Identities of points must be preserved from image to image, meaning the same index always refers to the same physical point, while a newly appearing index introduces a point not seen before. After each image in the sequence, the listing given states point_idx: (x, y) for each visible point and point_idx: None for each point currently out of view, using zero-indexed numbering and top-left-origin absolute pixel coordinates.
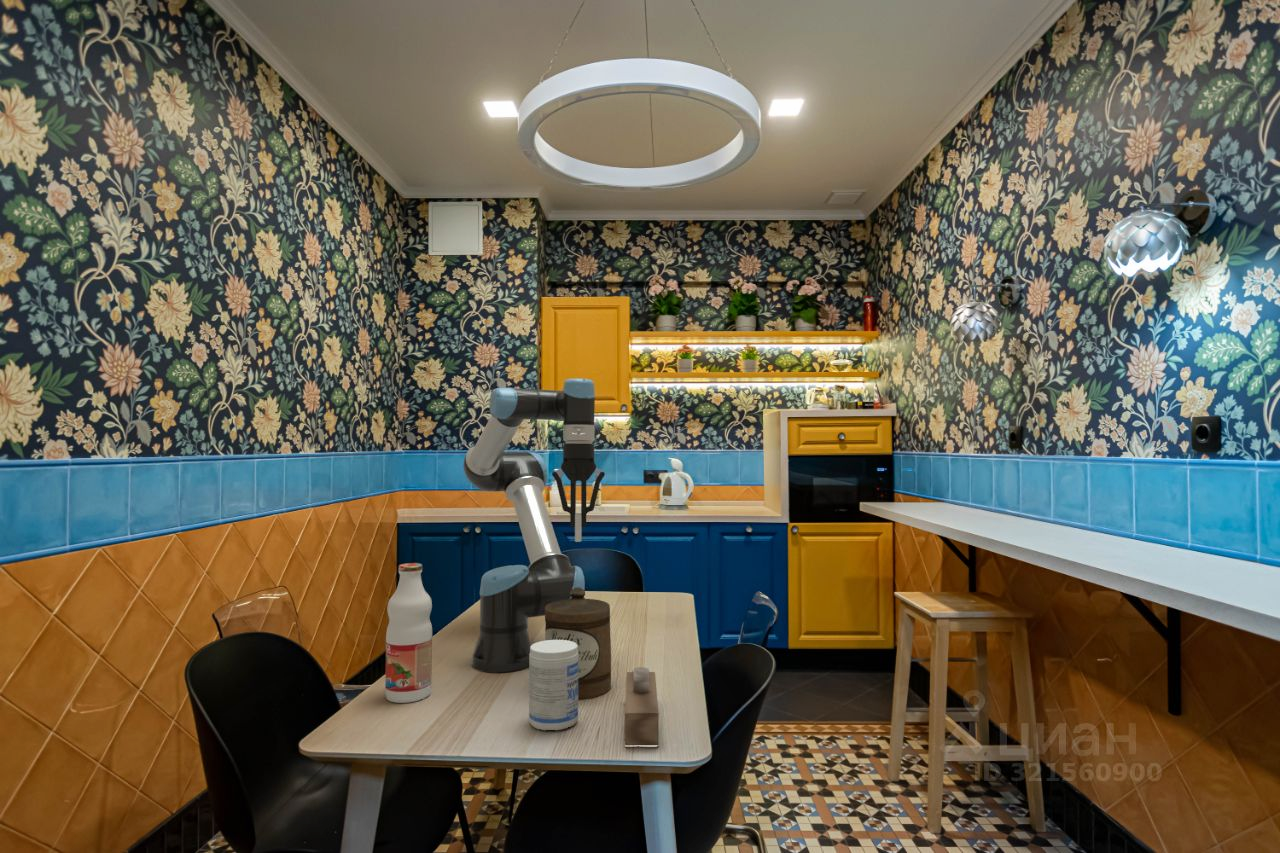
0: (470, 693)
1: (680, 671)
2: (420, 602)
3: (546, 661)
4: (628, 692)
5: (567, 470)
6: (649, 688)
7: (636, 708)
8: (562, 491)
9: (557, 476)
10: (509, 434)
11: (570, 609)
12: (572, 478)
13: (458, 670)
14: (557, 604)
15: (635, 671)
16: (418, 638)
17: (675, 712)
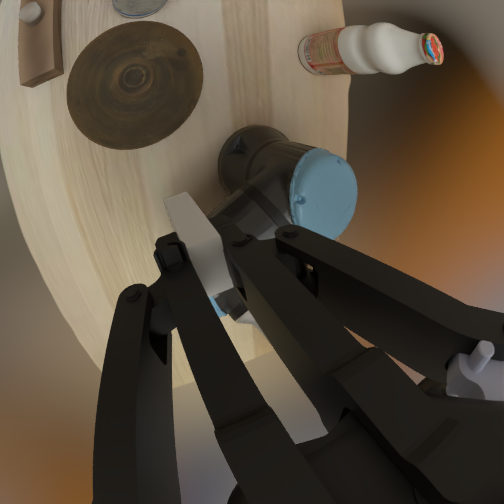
0: (259, 59)
1: (25, 201)
2: (381, 27)
3: None
4: (50, 6)
5: (480, 429)
6: (26, 28)
7: None
8: (382, 283)
9: (490, 333)
10: None
11: (141, 42)
12: (404, 402)
13: (296, 130)
14: (179, 77)
15: (35, 2)
16: (347, 28)
17: (11, 67)
